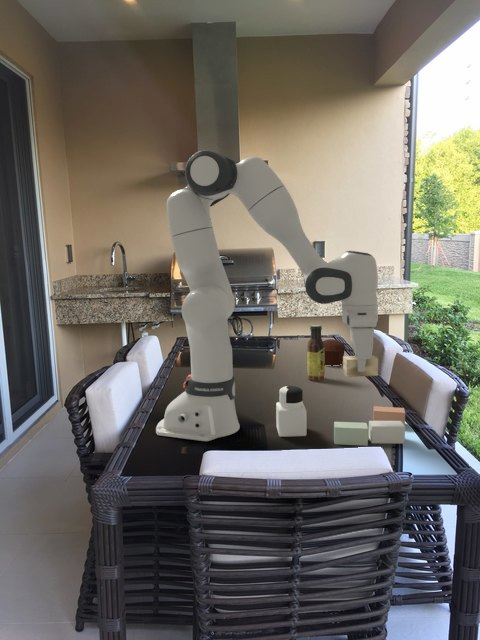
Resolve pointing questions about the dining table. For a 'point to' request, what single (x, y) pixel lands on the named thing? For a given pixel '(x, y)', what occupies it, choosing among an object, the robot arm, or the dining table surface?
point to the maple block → (352, 369)
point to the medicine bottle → (291, 412)
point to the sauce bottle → (316, 355)
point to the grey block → (386, 432)
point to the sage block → (350, 433)
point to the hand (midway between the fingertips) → (360, 368)
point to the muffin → (333, 352)
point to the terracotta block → (389, 414)
